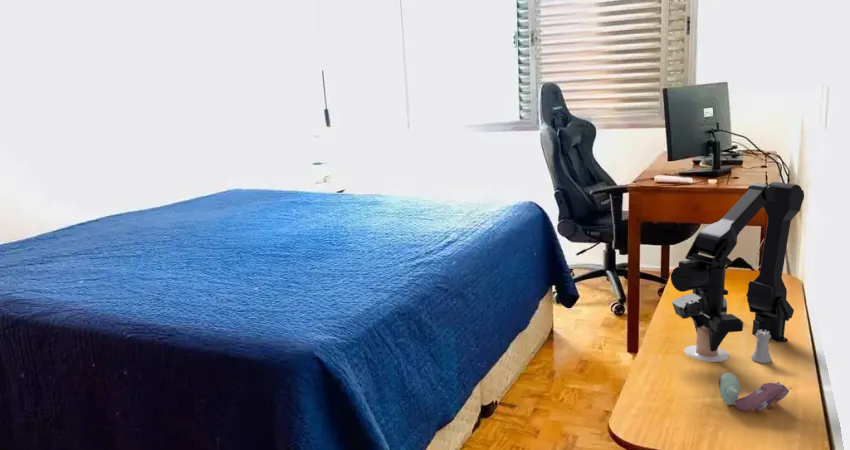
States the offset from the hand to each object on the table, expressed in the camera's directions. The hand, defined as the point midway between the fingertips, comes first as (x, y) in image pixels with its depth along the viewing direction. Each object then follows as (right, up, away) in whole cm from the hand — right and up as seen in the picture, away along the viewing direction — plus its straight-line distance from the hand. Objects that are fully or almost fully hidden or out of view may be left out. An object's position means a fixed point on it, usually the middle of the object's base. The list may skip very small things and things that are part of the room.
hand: (707, 346), depth 160 cm
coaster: (0, -2, +1) cm, 2 cm away
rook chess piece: (+11, -3, -4) cm, 12 cm away
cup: (0, -1, 0) cm, 2 cm away
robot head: (-5, -8, -23) cm, 25 cm away
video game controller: (+1, -8, -24) cm, 26 cm away
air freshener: (+12, +3, +27) cm, 30 cm away
